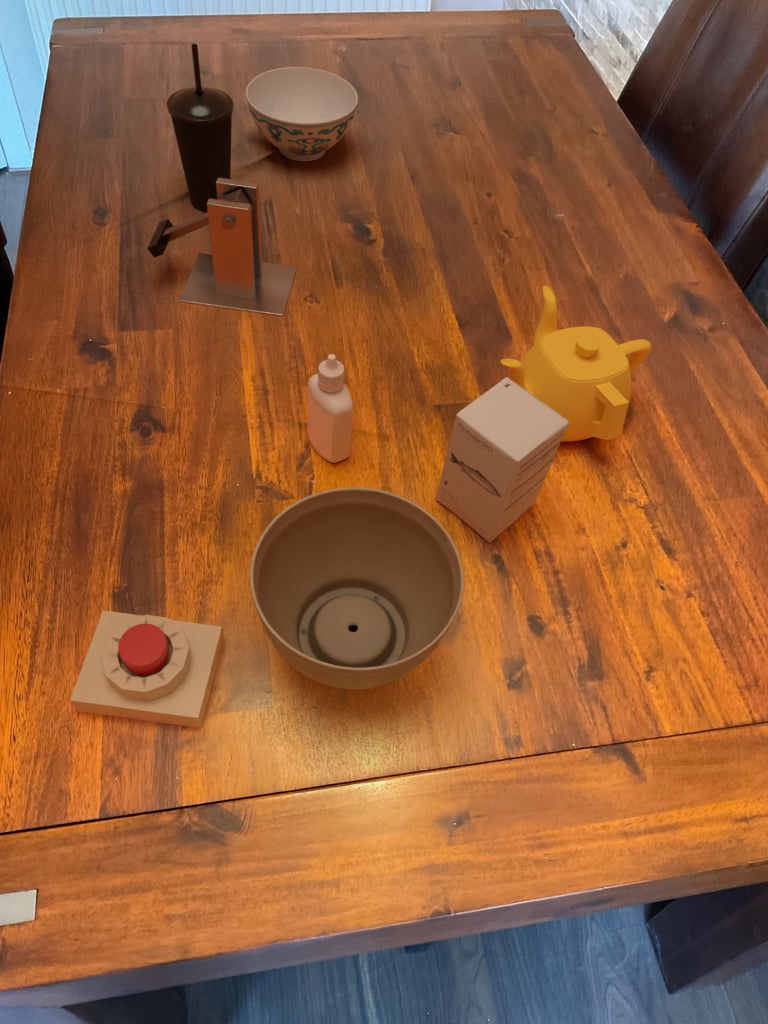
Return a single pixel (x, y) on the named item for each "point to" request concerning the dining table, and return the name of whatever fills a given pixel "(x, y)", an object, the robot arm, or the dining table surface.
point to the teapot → (579, 374)
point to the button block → (158, 695)
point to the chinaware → (301, 109)
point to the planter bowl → (355, 585)
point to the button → (144, 649)
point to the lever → (186, 226)
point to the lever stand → (237, 259)
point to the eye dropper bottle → (329, 411)
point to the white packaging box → (499, 457)
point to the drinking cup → (202, 136)
